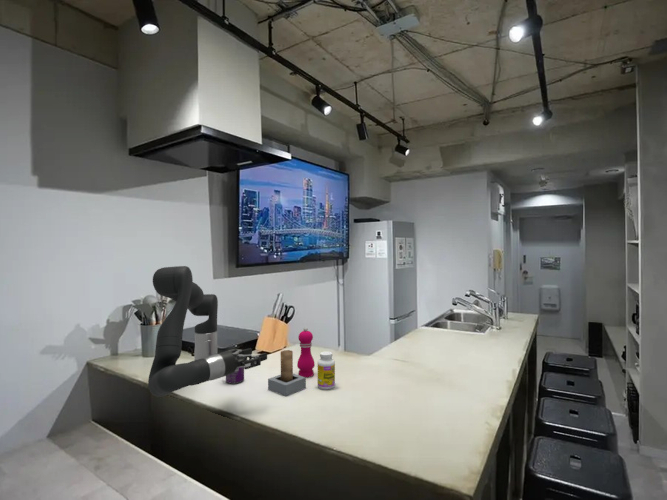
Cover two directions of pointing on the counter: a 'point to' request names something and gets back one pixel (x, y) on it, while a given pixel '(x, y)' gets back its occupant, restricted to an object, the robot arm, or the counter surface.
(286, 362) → the peg
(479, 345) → the counter surface
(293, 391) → the socket
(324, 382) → the supplement bottle
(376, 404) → the counter surface
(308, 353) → the pepper mill
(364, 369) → the counter surface
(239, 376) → the beverage can
